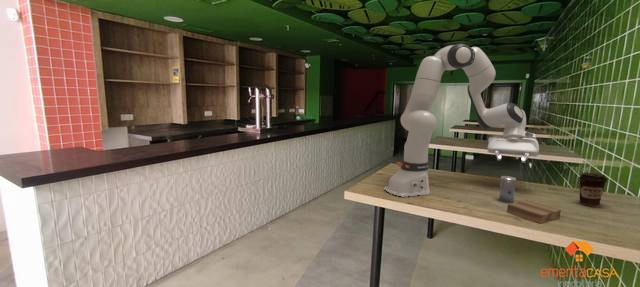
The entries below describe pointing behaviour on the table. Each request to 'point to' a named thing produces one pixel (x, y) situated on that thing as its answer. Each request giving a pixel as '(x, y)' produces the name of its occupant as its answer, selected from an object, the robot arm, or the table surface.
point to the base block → (533, 211)
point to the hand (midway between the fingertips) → (510, 160)
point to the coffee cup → (591, 188)
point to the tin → (507, 189)
